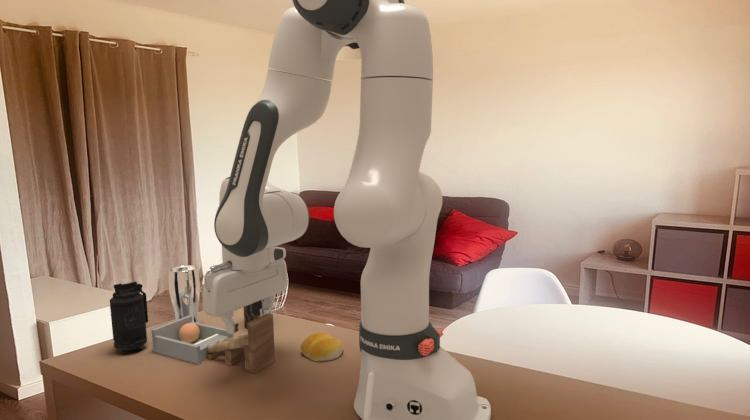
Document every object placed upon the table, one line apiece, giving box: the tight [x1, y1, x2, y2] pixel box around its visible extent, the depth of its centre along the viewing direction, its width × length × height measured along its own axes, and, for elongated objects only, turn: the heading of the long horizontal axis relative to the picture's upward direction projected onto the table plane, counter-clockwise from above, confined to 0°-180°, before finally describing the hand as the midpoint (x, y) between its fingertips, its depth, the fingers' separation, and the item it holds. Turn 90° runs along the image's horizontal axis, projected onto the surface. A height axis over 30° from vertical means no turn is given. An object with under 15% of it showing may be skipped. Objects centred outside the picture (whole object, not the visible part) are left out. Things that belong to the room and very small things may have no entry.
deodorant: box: [242, 299, 264, 330], centre depth 120 cm, size 6×6×15 cm
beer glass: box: [168, 264, 201, 324], centre depth 119 cm, size 7×7×15 cm
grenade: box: [109, 281, 149, 354], centre depth 108 cm, size 7×7×15 cm
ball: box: [179, 323, 200, 343], centre depth 111 cm, size 4×4×4 cm
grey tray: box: [151, 315, 234, 365], centre depth 107 cm, size 14×10×5 cm
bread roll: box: [300, 332, 344, 362], centre depth 104 cm, size 8×9×4 cm
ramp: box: [206, 313, 276, 374], centre depth 101 cm, size 14×6×10 cm, turn 61°
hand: (249, 324), depth 99 cm, fingers open, 8 cm apart
